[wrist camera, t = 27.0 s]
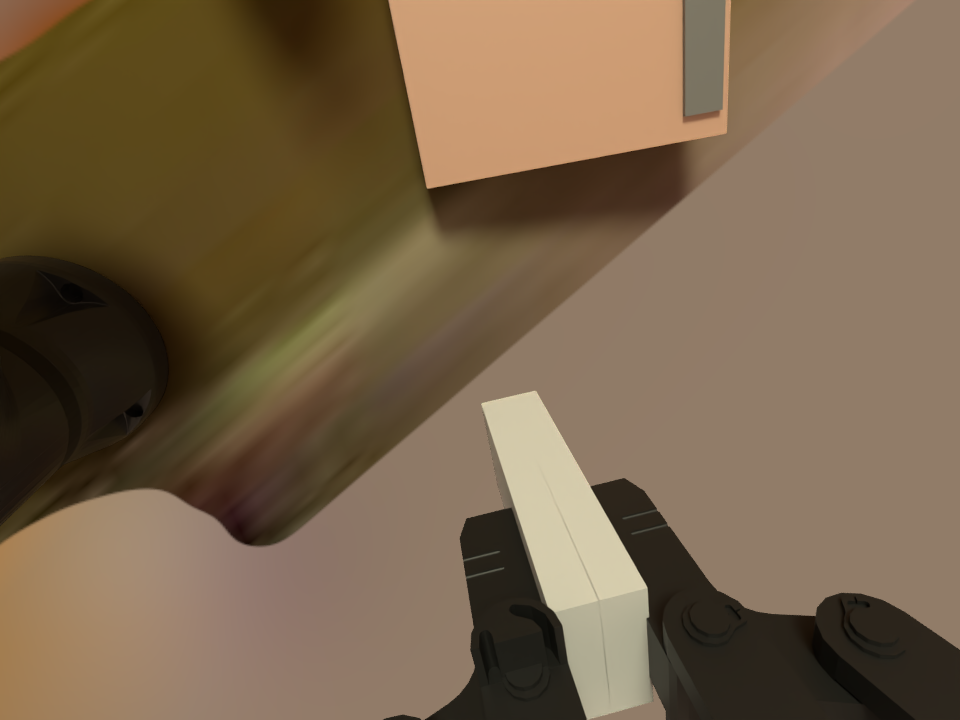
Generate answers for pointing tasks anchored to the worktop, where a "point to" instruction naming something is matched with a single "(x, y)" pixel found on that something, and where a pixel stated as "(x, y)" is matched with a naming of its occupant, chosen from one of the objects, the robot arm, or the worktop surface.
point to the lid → (558, 79)
